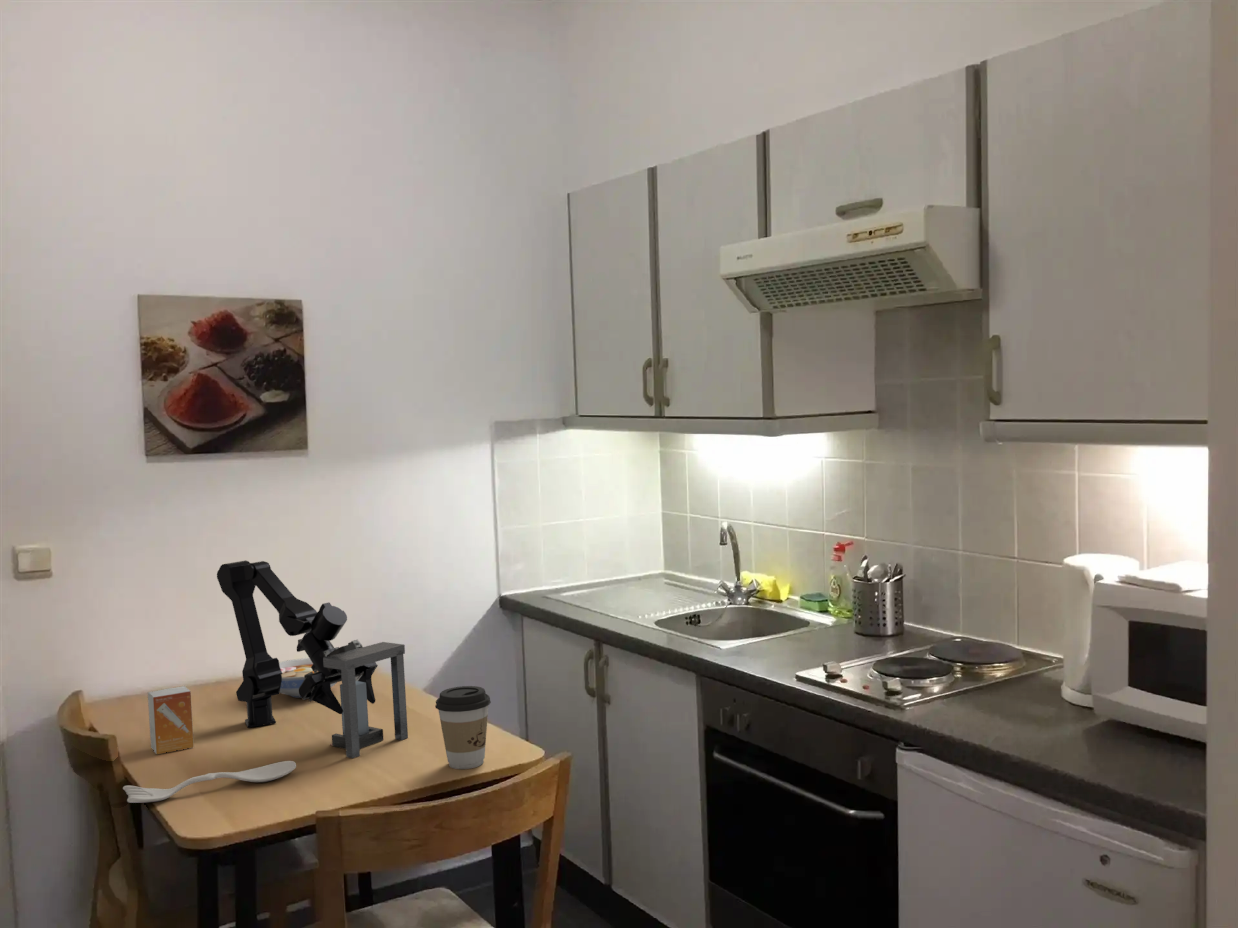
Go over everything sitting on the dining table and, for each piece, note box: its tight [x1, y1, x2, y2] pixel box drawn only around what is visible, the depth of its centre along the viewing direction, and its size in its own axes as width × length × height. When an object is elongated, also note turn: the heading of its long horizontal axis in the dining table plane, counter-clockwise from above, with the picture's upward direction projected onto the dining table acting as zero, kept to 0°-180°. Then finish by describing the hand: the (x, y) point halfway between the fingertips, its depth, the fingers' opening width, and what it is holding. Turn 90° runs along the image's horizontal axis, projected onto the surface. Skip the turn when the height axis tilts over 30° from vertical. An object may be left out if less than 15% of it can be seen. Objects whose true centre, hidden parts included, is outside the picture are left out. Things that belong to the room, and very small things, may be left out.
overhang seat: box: [323, 641, 409, 759], centre depth 242 cm, size 12×17×21 cm
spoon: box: [122, 760, 297, 804], centre depth 217 cm, size 9×32×4 cm, turn 120°
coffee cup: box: [435, 685, 492, 770], centre depth 225 cm, size 11×11×15 cm
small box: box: [147, 685, 195, 755], centre depth 245 cm, size 8×6×13 cm
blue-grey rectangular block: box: [339, 681, 370, 735], centre depth 243 cm, size 4×4×13 cm
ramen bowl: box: [279, 657, 338, 699], centre depth 289 cm, size 25×23×8 cm
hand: (358, 707), depth 242 cm, fingers open, 9 cm apart
